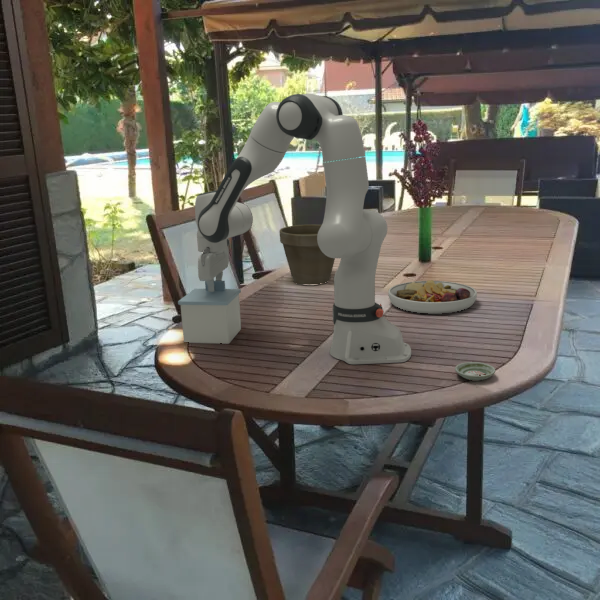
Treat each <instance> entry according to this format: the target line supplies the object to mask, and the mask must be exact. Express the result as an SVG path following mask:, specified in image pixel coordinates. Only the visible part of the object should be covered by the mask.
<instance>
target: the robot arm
mask: <svg viewBox="0 0 600 600" xmlns="http://www.w3.org/2000/svg"><path fill="white" fill-rule="evenodd" d="M294 138H296V139H301V140H307V141H312V140H313V139H314V140H315V141H317V142H318V144H319V146H320V148H321V154H322V162H323V172H324V181H325V189H326V190H325V191H326V196H325V197H326V199H325V200H326V201H325V208H324V216H323V221H322V223H321V225H322V226H321V227H320V229H319V231H318V235H317V242H318V246H319V248H320V250H321V251H322V252H323V253H324V254H325V255H326V256H328V257H330V258H335V259H340V262H339V265H338V267H337V270H336V271H335V273H334V277H333V295H334V297H333V298H334V301H333V302H334V303H333V305H332V323H333V335H332V340H331V341H332V342H331V346H330V350H329V355H331V357H332V358H334V359H337V360H341V361H344V363H347V364H349V365H372V364H373V365H374V364H389V363H390V364H395V363H405V362H407V361H409V360H410V358H411V357H412V348H411V346H410V345H409V344H408V343H406V342H404V338H403V335H402V331H401V329H399V327H398V326H397V325H395V324H394V323H392V322H391V321H389V320H388V319H387V318H385V317H384V309H383V305H382V303H377V302H376V274H377V273H376V272H377V267H378V263H379V262H378V261H379V258H380V253H381V249H382V245H383V242H384V240H385V238H386V237H387V233H388V224H387V220H386V218H385V217H384V216H383V215H382V214H381V213H380V212H378V211H375V210H370V209H369V210H368V209H364V203H365V198H366V194H367V193H368V190H369V185H370V184H369V176H368V167H367V160H366V151H365V145H364V141H363V136H362V132H361V130H360V127H359V123H358V122H357V120H356V119H355V118H354V117H352V116H350V115H346V114H343V109H342V107H341V106H340V104H339V103H338V102H337V101H336V100H335V99H334V98H332V97H330V96H326V95H318V94H315V93H303V94H301V93H295V94H291V95H289V96H287V97H285V98H283V99H282V100H281V101H271V102H270V103H268V104H267V105H265V106H264V108H263V110H262V111H261V113H260V114H259V116H258V118H257V120H256V121H255V122H254V125H253V127H252V128H251V131H250V133H249V135H248V137H247V140H246V142H245V144H244V146H243V148H242V149H241V151H240V152H239V154H238V155H237V157H236V158H235V159H234V161H232V164H231V165H230V166H229V168H228V169H227V171H226V173H225V175H224V177H223V179H222V180H221V183H220V184H219V185H218V187H217V190H211V191H207V192H202V193H199V194H198V195H197V196H196V198H195V202H194V203H195V205H194V212H195V213H194V214H195V217H194V218H195V223H196V226H197V232H196V240H197V252H199V253H201V254H200V255H199V256H198V259H197V273H198V274H197V275H198V280H199V281H200V282H205V281H206V283H207V285H208V291H209V292H214V291H215V285H214V282H213V281H223V275H224V271H225V270H226V269H227V268H228V267H229V262H230V255H229V254H230V250H229V249H230V248H229V246H230V244H231V243H230V238H234V237H237V236H240V235H242V234H245V233H247V232H248V231H249V230H251V228H252V226H253V221H254V220H253V218H254V217H253V213H252V210H251V209H250V207H248V205H247V204H246V203H243V202H238V200H239V199H240V198H241V195H242V194H243V192H244V190H246V188H247V187H248V186H249V185H251V184H252V183H254V182H256V180H259V179H260V178H263V177H264V176H267V175H269V174H271V173H272V172H274V171H275V170H276V169H277V168H278V167H279V165H280V164H281V162H282V161H283V159H285V158H284V157H285V155H286V154H287V151H288V150H289V149H288V148H289V147H290V144H291V143H292V141H293V139H294Z"/></svg>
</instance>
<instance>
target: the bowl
mask: <svg viewBox="0 0 600 600" xmlns="http://www.w3.org/2000/svg"><path fill="white" fill-rule="evenodd" d="M387 294H388V295H387V296H388V299H389V301H390V303H391V304H392V305H393V306H394V307H395V308H397V307H398V309H399V308H400V309H399V310H402V309H403V311H405V310H406V312H408V311H411V312H410V313H413V312H417V313H416V314H420V313H428V314H427V315H443V314H442V313H449V314H453V313H452V312H455V313H458V312H457V311H459V312H462V311H461V310H463V311H464V309H465V310H467V309H468V308H470V307H472V306H473V305H474V304H475V303H476V301H477V296H478V292H477V290H476V289H475V288H474V287H472V286H470V285H467V284H464V283H459V282H452V281H445V280H432V279H431V280H429V279H428V280H417V281H408V282H402V283H398V284H396V285H393V286H391V287H390V288H389V289H388V292H387Z"/></svg>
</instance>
